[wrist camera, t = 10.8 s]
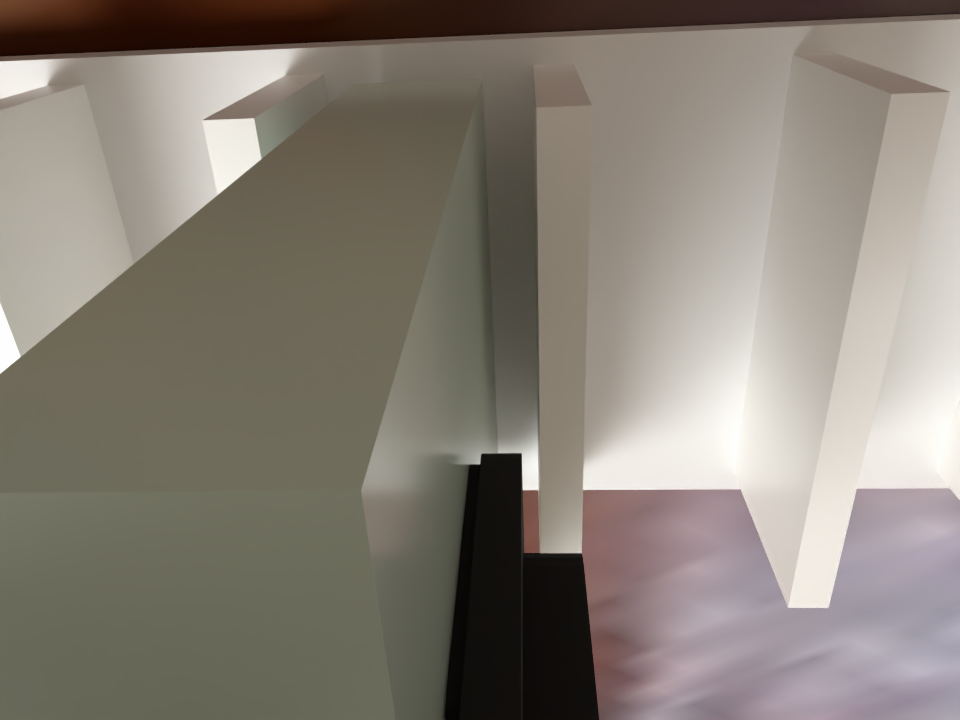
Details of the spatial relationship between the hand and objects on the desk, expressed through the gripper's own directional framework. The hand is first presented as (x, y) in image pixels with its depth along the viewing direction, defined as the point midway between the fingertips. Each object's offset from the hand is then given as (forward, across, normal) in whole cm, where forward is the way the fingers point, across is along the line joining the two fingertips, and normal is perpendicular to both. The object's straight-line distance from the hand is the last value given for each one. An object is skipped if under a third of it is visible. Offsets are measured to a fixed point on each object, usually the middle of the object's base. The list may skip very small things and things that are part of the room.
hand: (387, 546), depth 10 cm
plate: (+7, 0, 0) cm, 7 cm away
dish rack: (+9, -2, 0) cm, 9 cm away
